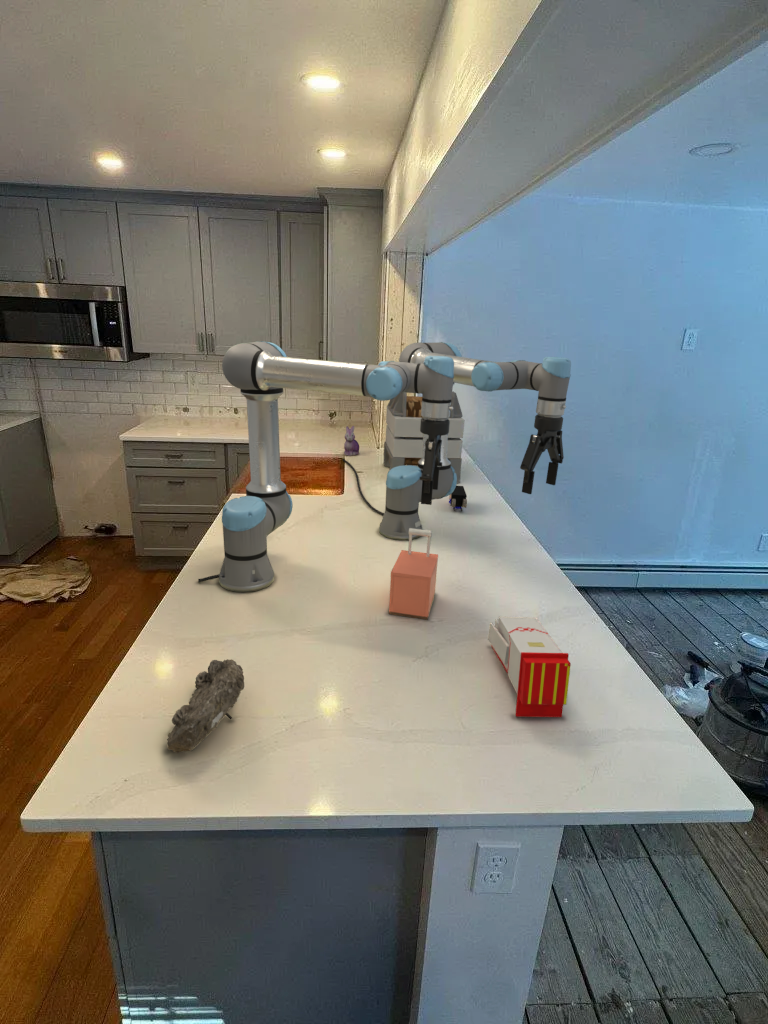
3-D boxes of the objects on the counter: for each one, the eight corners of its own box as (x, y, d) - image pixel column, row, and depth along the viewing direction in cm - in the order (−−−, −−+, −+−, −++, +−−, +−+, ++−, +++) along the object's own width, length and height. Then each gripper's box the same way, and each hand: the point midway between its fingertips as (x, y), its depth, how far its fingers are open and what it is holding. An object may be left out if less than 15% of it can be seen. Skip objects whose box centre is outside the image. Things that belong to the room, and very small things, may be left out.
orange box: (401, 552, 157) (403, 524, 154) (438, 557, 155) (440, 529, 152) (390, 575, 144) (392, 544, 141) (430, 580, 142) (433, 549, 139)
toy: (534, 602, 136) (579, 659, 107) (529, 653, 139) (572, 723, 110) (484, 601, 136) (516, 658, 107) (480, 652, 139) (510, 722, 109)
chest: (399, 589, 160) (401, 553, 157) (434, 594, 158) (437, 558, 155) (388, 614, 147) (390, 575, 144) (427, 619, 145) (430, 580, 142)
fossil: (192, 660, 117) (244, 628, 112) (224, 691, 120) (276, 661, 115) (142, 746, 98) (202, 712, 93) (182, 779, 101) (242, 748, 96)
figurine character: (467, 516, 223) (461, 500, 237) (469, 499, 220) (463, 483, 233) (450, 516, 223) (446, 499, 236) (452, 498, 220) (447, 483, 233)
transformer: (382, 463, 289) (386, 382, 275) (445, 464, 293) (451, 384, 279) (390, 482, 257) (394, 392, 243) (460, 483, 261) (468, 394, 247)
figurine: (347, 456, 298) (347, 428, 293) (339, 452, 307) (339, 424, 302) (363, 455, 303) (364, 427, 298) (355, 450, 311) (356, 423, 306)
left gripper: (444, 428, 134) (437, 512, 141) (454, 411, 157) (448, 484, 164) (413, 425, 135) (408, 509, 143) (427, 409, 158) (422, 482, 166)
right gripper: (538, 422, 146) (527, 500, 153) (582, 413, 163) (571, 483, 170) (513, 417, 150) (504, 493, 158) (558, 409, 168) (548, 477, 175)
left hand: (429, 496), depth 153 cm, fingers open, 13 cm apart
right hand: (538, 488), depth 164 cm, fingers open, 13 cm apart
